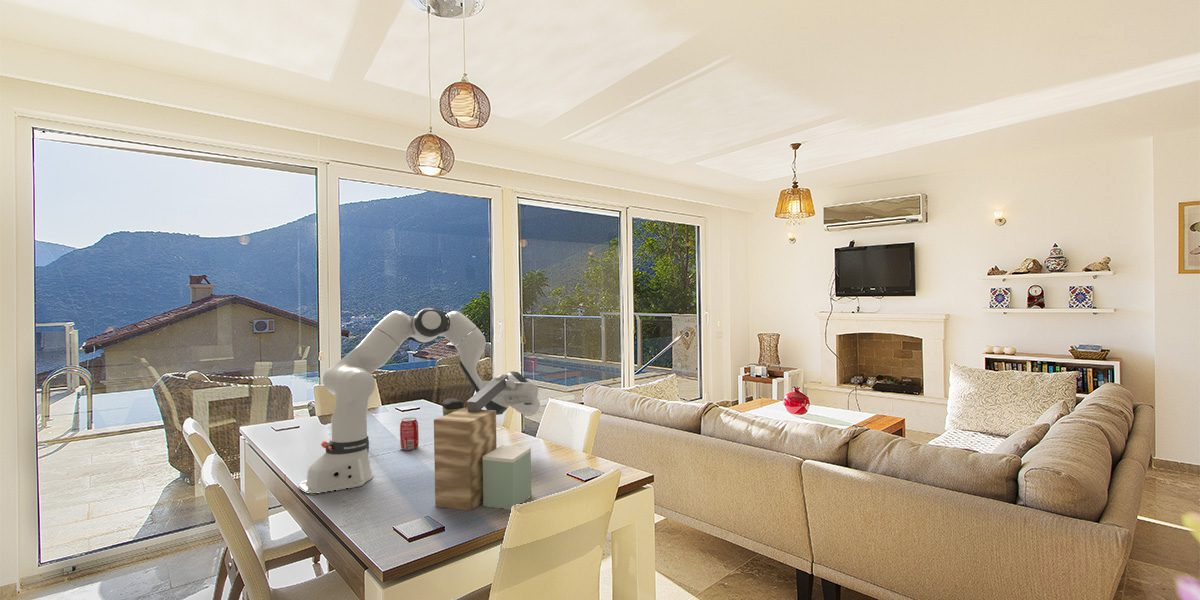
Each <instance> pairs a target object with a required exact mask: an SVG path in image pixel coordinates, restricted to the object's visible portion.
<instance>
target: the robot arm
mask: <svg viewBox="0 0 1200 600" xmlns="http://www.w3.org/2000/svg"><path fill="white" fill-rule="evenodd" d="M438 337H443V338H445V339H446V340H448V341H449V342H450V343H451V344H452V346H453V347H455V349H456V351H457V352H458V354H459V357H460V358H459V360H458V364H459V366H460V369H461V371H462V372H463V374H464V375H465V377H466V379H467V381H468V382H469V383H470V385H471V386H472V388H473V389H474V391H475V392H476V393H477V392H478V391H480V390H481V389H482V388H483V387H484V386H486V385H487V384H488V383H489V382H490V381H492V380H493V379H494V378H492V379H491V380H482V379H481V377H480V376H479V373H478V371H477V367H478V364H479V361H480V359H481V357H482V356H483V353H484V352H485V348H486V344H487V343H486V337H485V335H484V334H483V333H482V331H481V330H480V328H479V327H477V325H476V324H475V323H473V321H472V320H471V319H469V318H468V317H467V316H465V314H463V313H461V312H460V311H458V310H453V311H452V310H451V311H450V312H448V313H446V311H445V312H444V311H442V310H439V309H437V308H433V307H426V308H422V309H420V310H419V311H418V312H417V313H416V314H415V315H413V316H410V315H408V314H407V313H405V312H404V311H400V310H394V311H391V312H389V314H387V315H386V316H385V317H383V319H381V320H380V321H379V322H378V323H377V324H376V325H375V326H374V327H373V328H372V329H371V331H370V332H369V333H367V335H366V336H365V337H364V338H363V339H362V340H361V342H360V343H359V344H358V345H357V346H356V347H355V348H353V349H352V350H351V351H349V352H348V353H347V354H346V355H344V357H343V358H341V359H340V360H338V362H337V363H336V364H334V365H332V366H330V367H328V368H327V369H326V371H325V372H324V373H323V376H322V383H323V386H324V388H325V389H326V390H327V391H328V392H329V393H330V394H332V395H334V396H336V401H335V406H334V412H333V413H332V415H331V420H330V421H331V422H330V423H331V429H330V430H331V440H329V441H328V442H327V441H326V440H324V441H322V442H321V443H320V446H321V447H322V448H323V449H325V453H323V454H322V455H321V456H320V457H318V458H317V459H316V460H315V461H314V462H313V463H311V465H310V466H309V467H308V470H307V473H306V479H304V480H302V481H301V482H300V483H299V485H298V487H299V486H300V488H301V489H302V490H304V491H306V492H309V493H317V492H325V493H327V492H326V491H331V492H334V490H336V491H340V490H341V491H342V490H347V489H346V488H348V489H352V488H358V487H363V485H364V484H365V483H367V482H369V481H371V480H372V479H373V477H374V474H373V472H372V467H371V465H370V464H371V463H370V459H369V450H370V440H369V436H368V408H369V405H370V399H371V395H372V394H374V391H375V388H376V380H375V378H374V376H373V375H372V373H374V372H375V371H376V370H378V369H379V368H381V367H383V366H384V365H386V364H387V362H388V361H389V360H390V359H391V358H392V356H394V354H395V353H396V352H397V350H399V348H400V346H401V345H403V344H404V342H405V341H406V340H407V339H408V340H410V341H412V342H413V341H414V342H416V343H418V344H423V345H424V344H429V343H431V342H433V341H435V339H437V338H438ZM506 375H508V378H509V380H504V385H505V386H507V387H505V388H504V389H503V390H502V391H501V392H500V393H499V394H498V395H497V396H495V397H494V398H493V399H492V400H491V401H490V402H489V403H488V404H486V405H485V406H484V407H483V408H485V410H496V416H499V415H503V414H504V413H505V412H506V410H508V408H509V407H511V408H512V409H514V410H516V412H518V413H519V414H521V415H523V416H525V417H531V416H534V415H536V414H537V412H539V410H540V408H541V403H540V400H539V398H538V395H539V387H538V386H537V385H535V383H532V382H529V380H527V378H525V377H524V376H523V375H522V374H521V373H520V372H518V371H509V372H507V373H506ZM476 393H475V394H476ZM300 488H299V489H300Z"/></svg>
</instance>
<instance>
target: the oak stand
mask: <svg viewBox="0 0 1200 600" xmlns="http://www.w3.org/2000/svg"><path fill="white" fill-rule="evenodd" d="M496 448H498V447H497V415H496V410H486V409H483V408H482V409H481V410H480V411H479V412H468V409H467V407H466V408H465V407H464V408H462V409H460V410H457V411H455V412H452V413H450V414H447V415H444V416H443V415H442V416H439V417H436V418H435V419H433V455H434V496H435V497H434V504H435V507H441V508H448V509H456V510H464V511H472V510H474V509H475V508H476V507H477V505H478V506H479V505H480V504H482V503H483V456H484V455H486V454H488V453H489V452H491V451H493V450H495V449H496ZM481 502H482V503H481Z"/></svg>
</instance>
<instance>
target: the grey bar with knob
mask: <svg viewBox="0 0 1200 600" xmlns="http://www.w3.org/2000/svg"><path fill="white" fill-rule="evenodd" d="M492 379H493V380H492ZM492 379H491V380H492V381H491V380H489V381H490V382H489V383H488V384H487V385H486V386H484V387H483V388H482V389H481V390H480V391H478V392H477V393H474V394H473V395H472V396H471V397H469V399H468V400H467V401H466V408H467V409H468V412H479V411H480V410H481V409H482V410H483V408H485V407H484V406H485V405H486V404H488V403H489V402H490V401H491V400H492V399H493V398H494V397H495V396H497V395H498V394H499V393H500V392H501V391H502V390H503V389H504V388H505V387H507V386H505V385H504V380H509V378H508V375H507V374H503V373H499V374H497V375H496V376H495V377H494V378H492Z"/></svg>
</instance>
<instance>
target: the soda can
mask: <svg viewBox="0 0 1200 600" xmlns="http://www.w3.org/2000/svg"><path fill="white" fill-rule="evenodd" d="M399 434H400V435H399V440H400V441H399V442H400V448H401V449H402V450H403V449H404V450H403V451H412V449H413V450H415V448H416V449H417V448H418V447H419V440H420V439H419V422H418V421H417V417H405V418H402V419H401V422H400V423H399Z"/></svg>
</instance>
